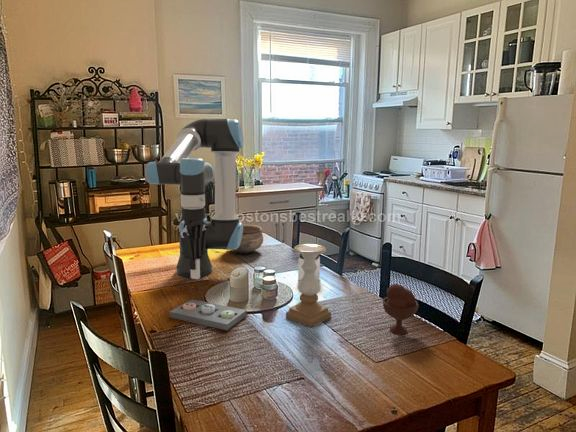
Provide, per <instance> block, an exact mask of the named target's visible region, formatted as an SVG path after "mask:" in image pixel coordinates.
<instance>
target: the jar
mask: <svg viewBox="0 0 576 432" xmlns="http://www.w3.org/2000/svg"><path fill="white" fill-rule="evenodd" d="M298 254H299V253H298ZM303 263H304V258H303V256H302V254H299V256H298V268H297V269H298V270H297V271H298V272H297V274H298V275H297V278H298V281H301V279H302V278H303V276H304V271H303V269H302V265H303ZM315 263H316V265H317V269H316V271H315V273H314V274H315V277H316V279H317V280H318V281H319V280H320V274H321V273H320V272H321V271H320V269H321V268H320V267H321V265H320V263H321V257H320V254H318V256H317V257H316V259H315Z"/></svg>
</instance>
